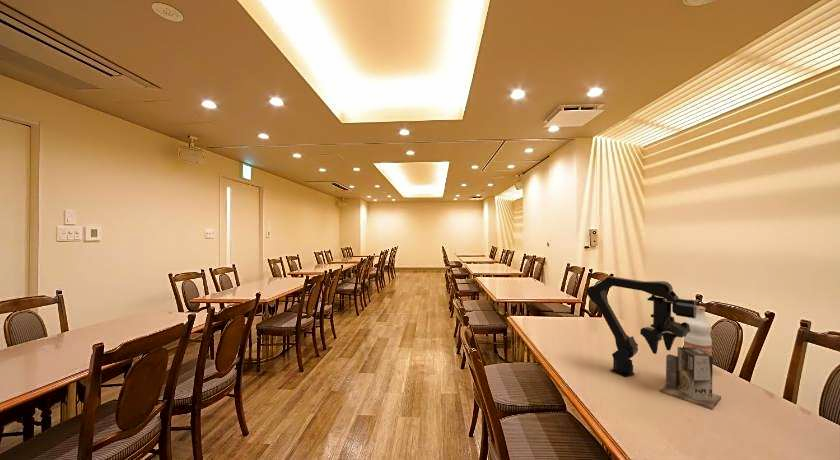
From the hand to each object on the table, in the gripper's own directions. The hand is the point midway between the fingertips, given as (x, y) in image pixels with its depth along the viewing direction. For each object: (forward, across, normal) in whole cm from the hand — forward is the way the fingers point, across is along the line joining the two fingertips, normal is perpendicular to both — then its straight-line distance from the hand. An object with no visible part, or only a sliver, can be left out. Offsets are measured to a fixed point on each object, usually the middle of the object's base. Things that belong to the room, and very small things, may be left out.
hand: (661, 351), depth 128 cm
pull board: (+13, +1, -9) cm, 16 cm away
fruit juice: (+13, +31, +2) cm, 34 cm away
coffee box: (+12, +1, -11) cm, 16 cm away
